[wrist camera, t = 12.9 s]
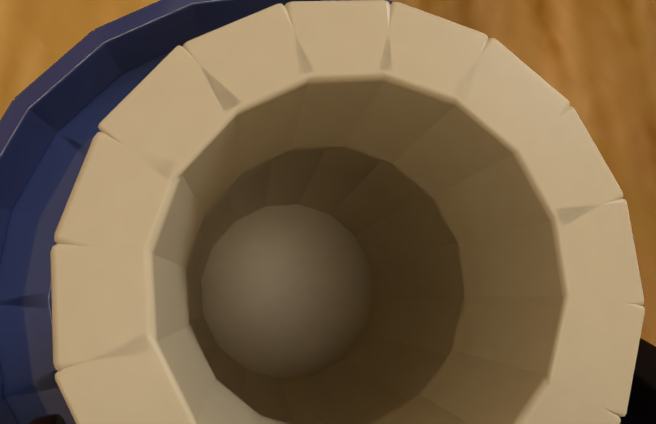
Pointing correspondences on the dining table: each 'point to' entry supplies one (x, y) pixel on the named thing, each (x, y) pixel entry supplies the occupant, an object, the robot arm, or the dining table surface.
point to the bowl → (70, 174)
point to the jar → (345, 236)
